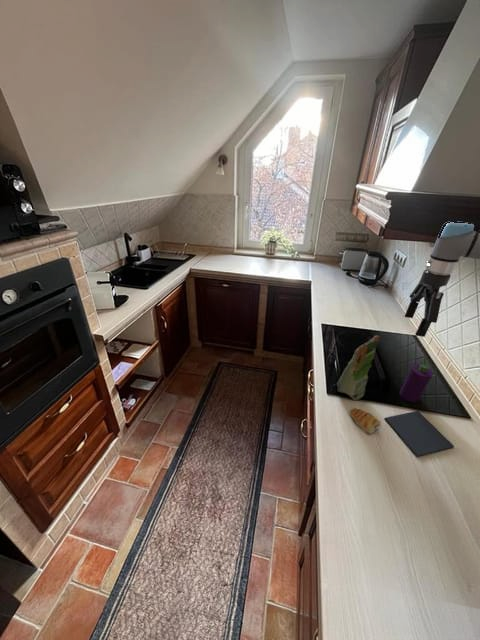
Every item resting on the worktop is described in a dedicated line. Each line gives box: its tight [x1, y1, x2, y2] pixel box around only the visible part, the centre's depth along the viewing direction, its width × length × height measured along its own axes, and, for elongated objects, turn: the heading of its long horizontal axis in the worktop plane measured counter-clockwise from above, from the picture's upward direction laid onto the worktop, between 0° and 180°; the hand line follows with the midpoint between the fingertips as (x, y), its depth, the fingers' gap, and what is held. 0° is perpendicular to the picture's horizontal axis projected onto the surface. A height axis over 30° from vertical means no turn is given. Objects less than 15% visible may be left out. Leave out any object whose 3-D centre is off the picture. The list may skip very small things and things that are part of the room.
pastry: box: [349, 407, 381, 435], centre depth 86 cm, size 9×7×4 cm
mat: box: [384, 410, 455, 458], centre depth 84 cm, size 14×14×1 cm
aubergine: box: [399, 364, 433, 403], centre depth 94 cm, size 6×6×15 cm
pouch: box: [336, 334, 381, 401], centre depth 93 cm, size 11×12×25 cm
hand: (413, 326), depth 95 cm, fingers open, 13 cm apart
